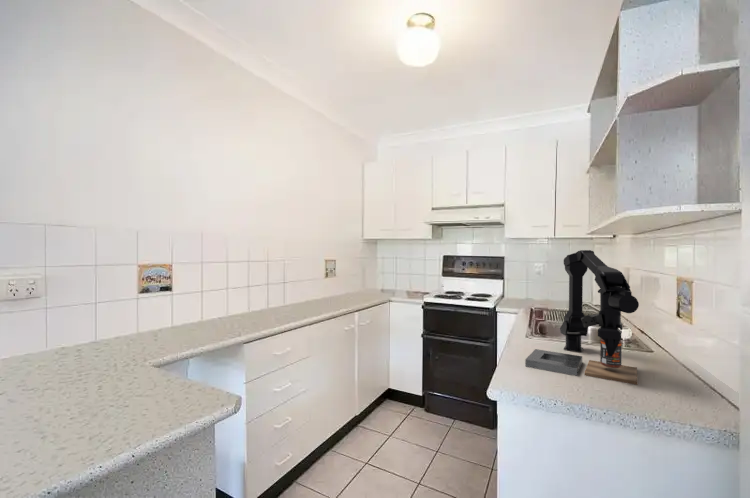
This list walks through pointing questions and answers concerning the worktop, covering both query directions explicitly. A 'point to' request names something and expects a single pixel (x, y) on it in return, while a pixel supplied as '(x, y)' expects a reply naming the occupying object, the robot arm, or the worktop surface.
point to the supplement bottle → (613, 360)
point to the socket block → (554, 362)
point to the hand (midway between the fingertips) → (610, 353)
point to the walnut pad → (612, 372)
